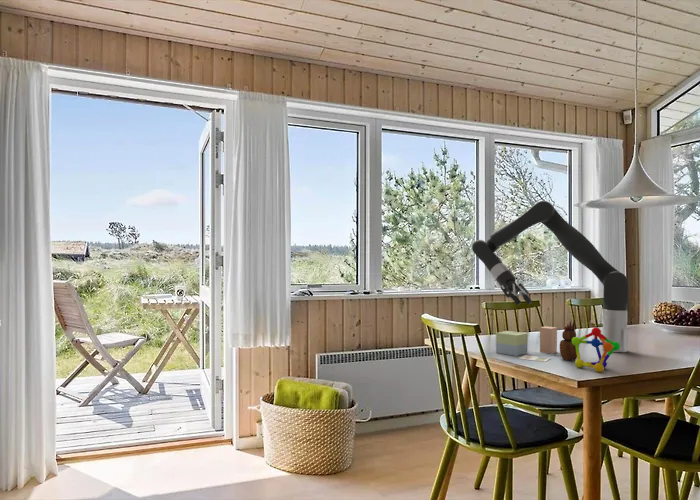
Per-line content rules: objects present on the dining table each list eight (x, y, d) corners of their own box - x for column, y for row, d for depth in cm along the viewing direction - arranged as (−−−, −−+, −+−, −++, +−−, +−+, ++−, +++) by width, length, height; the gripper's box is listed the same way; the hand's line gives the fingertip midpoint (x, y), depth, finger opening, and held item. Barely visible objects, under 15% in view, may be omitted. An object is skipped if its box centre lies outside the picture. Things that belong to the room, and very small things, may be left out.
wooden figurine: (578, 359, 213) (578, 320, 213) (579, 361, 208) (579, 321, 208) (559, 357, 215) (559, 319, 215) (559, 360, 210) (560, 320, 210)
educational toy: (623, 372, 195) (628, 330, 194) (606, 377, 187) (610, 333, 186) (580, 361, 207) (585, 321, 206) (563, 365, 198) (567, 324, 197)
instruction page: (550, 358, 213) (550, 357, 213) (545, 361, 206) (545, 361, 206) (524, 355, 219) (524, 354, 219) (518, 358, 212) (518, 357, 212)
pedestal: (527, 353, 225) (527, 333, 225) (516, 355, 218) (517, 335, 218) (506, 350, 231) (507, 330, 231) (496, 352, 224) (496, 332, 224)
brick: (556, 351, 229) (557, 327, 229) (551, 353, 225) (551, 328, 225) (545, 350, 232) (545, 326, 232) (539, 351, 228) (540, 327, 228)
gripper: (498, 269, 241) (521, 298, 232) (517, 269, 250) (539, 297, 242) (488, 281, 245) (510, 309, 236) (506, 280, 254) (528, 308, 246)
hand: (524, 303), depth 239 cm, fingers open, 8 cm apart
